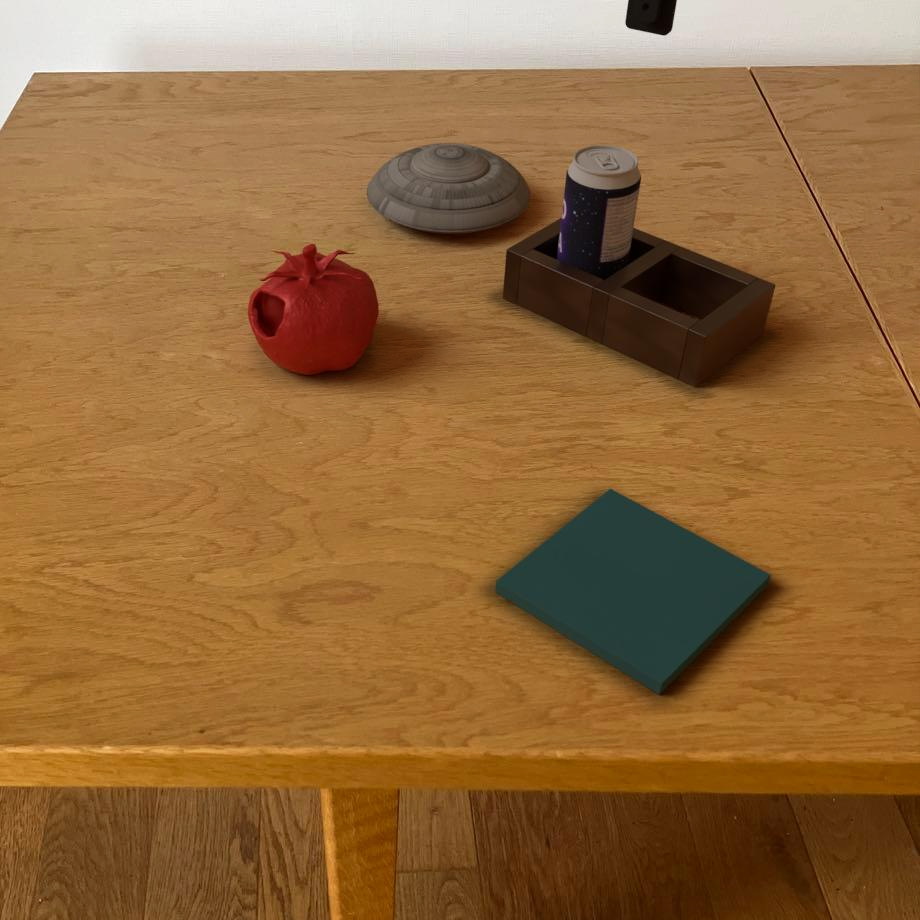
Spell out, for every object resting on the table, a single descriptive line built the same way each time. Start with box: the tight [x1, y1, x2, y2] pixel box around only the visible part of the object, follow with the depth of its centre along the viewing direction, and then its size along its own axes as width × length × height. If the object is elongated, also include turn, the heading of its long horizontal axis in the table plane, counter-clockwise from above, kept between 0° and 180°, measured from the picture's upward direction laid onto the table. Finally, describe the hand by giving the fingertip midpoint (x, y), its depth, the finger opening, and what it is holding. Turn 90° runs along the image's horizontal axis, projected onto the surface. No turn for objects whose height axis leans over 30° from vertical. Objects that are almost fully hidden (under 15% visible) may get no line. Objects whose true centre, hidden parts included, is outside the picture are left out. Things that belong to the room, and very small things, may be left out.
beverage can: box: [557, 144, 642, 280], centre depth 95 cm, size 6×6×12 cm
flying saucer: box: [366, 142, 532, 235], centre depth 109 cm, size 15×15×6 cm
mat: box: [494, 488, 772, 695], centre depth 74 cm, size 12×12×1 cm
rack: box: [502, 217, 776, 388], centre depth 95 cm, size 18×10×4 cm, turn 47°
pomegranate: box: [247, 243, 380, 376], centre depth 90 cm, size 10×10×9 cm
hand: (674, 9), depth 85 cm, fingers open, 9 cm apart
